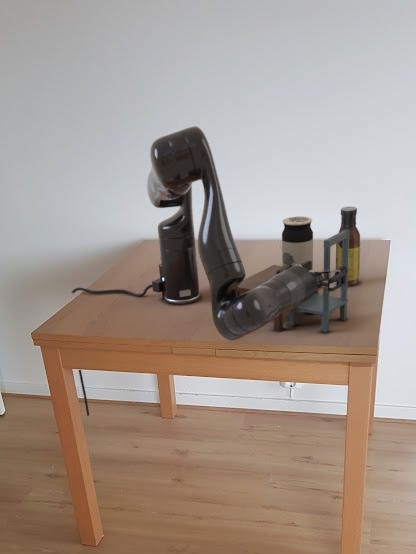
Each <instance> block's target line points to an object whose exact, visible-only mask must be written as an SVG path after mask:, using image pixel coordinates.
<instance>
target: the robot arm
mask: <svg viewBox="0 0 416 554" xmlns="http://www.w3.org/2000/svg"><path fill="white" fill-rule="evenodd" d="M149 157H150V164H151V168H150V172H149V173H148V177H147V181H146V183H147V184H146V187H147V196H148V198H149V201H150V203H151V204H152V206H153V207H154V208H157V209H168V208H177V207H178V210H177V211H176V212H175V213H174V214H173V215H172V216H170V217H168V218H166V219H164V220H162V221H161V222H159V223H158V225H157V235H158V244H159V253H160V260H161V261H160V263H159V264H158V271H159V278H157V279H154V280H152V281H151V284H148V286H146V287H145V288H144V290H143V292H141V293H134V292H132V291H130V290H127V289H118V288H117V289H106V290H105V289H103V290H93V289H92V290H91V289H87V288H84V287H76V288H73V289H72V291H71V294H75V293H76V292H77V291H82V292H85V293H89V294H110V293H125V294H127V295H130V296H133V297H136V298H137V297H138V298H141V297H143V296H145V295H146V294H147V291H148V290H150V289H151V288H152V292H153V293H159V294H160V293H161V296H162V297H161V298H162V299H161V300H164V301H165V302H166V303H168V304H172V305H186V304H187V305H188V304H191V303H195V302H197V301H198V300H200V298H201V294H200V286H199V282H200V281H199V272H198V271H199V270H198V258H197V250H198V254H199V259H200V261H201V264H202V267H203V270H204V272H205V275H206V278H207V280H208V283H209V295H210V296H209V297H210V305H211V315H212V320H213V324H214V326H215V328H216V330H217V331H218V333H219V334H220V335H221V336H222V337H223V338H225V339H226V340H228V341H236V340H239V339H241V338H243V337H245V336H247V335H249V334H252V333H254V332H256V331H258V330H260V329H261V328H263V327H265V326H267V325H268V324H269V323H271V322H272V321H274V318H276V317H278V316H279V315H281V314H283V315H284V313H287V312H289V310H292V309H293V308H295V307H297V306H298V305H300V304H302V303H303V302H305V301H306V300H308V299H309V298H311V296H312V295H313V293H314V292H315V290H317V289H318V290H319V289H323V287H328V291H330V292H331V293H332V292H334V291H336V290H338V289H341V287H342V286H344V285H345V284H346V276H347V270H348V268H347V266H344V265H343V266H341V267H339V268H338V269H336V268H335V269H333V270H332V269H331V270H330V271H329V270H328V269H324V268H323V269H317V270H316V269H313V270H312V261H309V260H308V261H306V262H304V263H302V264H296V265H295V266H292V264H287V265H285V266H284V267H282V268H280V269H279V270H277V271H276V275H275V276H273V277H272V278H271V279H269V280H268V281H267V282H265V283H263V284H261V285H259V286H258V287H256V288H255V289H252V290H250V291H248V292H246V293H244V294H242V295H240V296H238V297H237V296H236V290H237V287H238V286H239V284H240V283H241V282H242V281H243V280H245V279H246V278H245V277H246V270H245V267H244V264H243V260H242V259H241V256H240V253H239V250H238V248H237V245H236V242H235V239H234V236H233V233H232V229H231V225H230V221H229V218H228V213H227V209H226V203H225V199H224V195H223V190H222V187H221V183H220V179H219V174H218V172H217V171H218V170H217V167H216V163H215V159H214V155H213V152H212V149H211V146H210V143H209V140H208V138H207V136H206V135H205V133H204V131H203V130H202V129H201V128H200V127H198V126H196V125H195V126H190V127H186V128H184V129H181V130H178V131H175V132H172V133H169V134H166V135H163V136H160V137H157V139H155V140H153V142H152V143H151V145H150V150H149ZM198 181H201V183H202V186H203V192H204V203H203V209H202V215H201V220H200V225H199V228H198V234H197V246H196V233H195V225H194V210H193V209H194V207H193V183H194V182H198ZM324 274H325V281H324V279H323V276H324ZM332 275H333V276H332ZM78 373H79V380H80V384H81V389H82V395H83V399H84V405H85V411H86V416H87V417H89V416H90V410H89V405H88V399H87V393H86V388H85V383H84V378H83V372H82V369H81V370H78Z"/></svg>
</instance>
